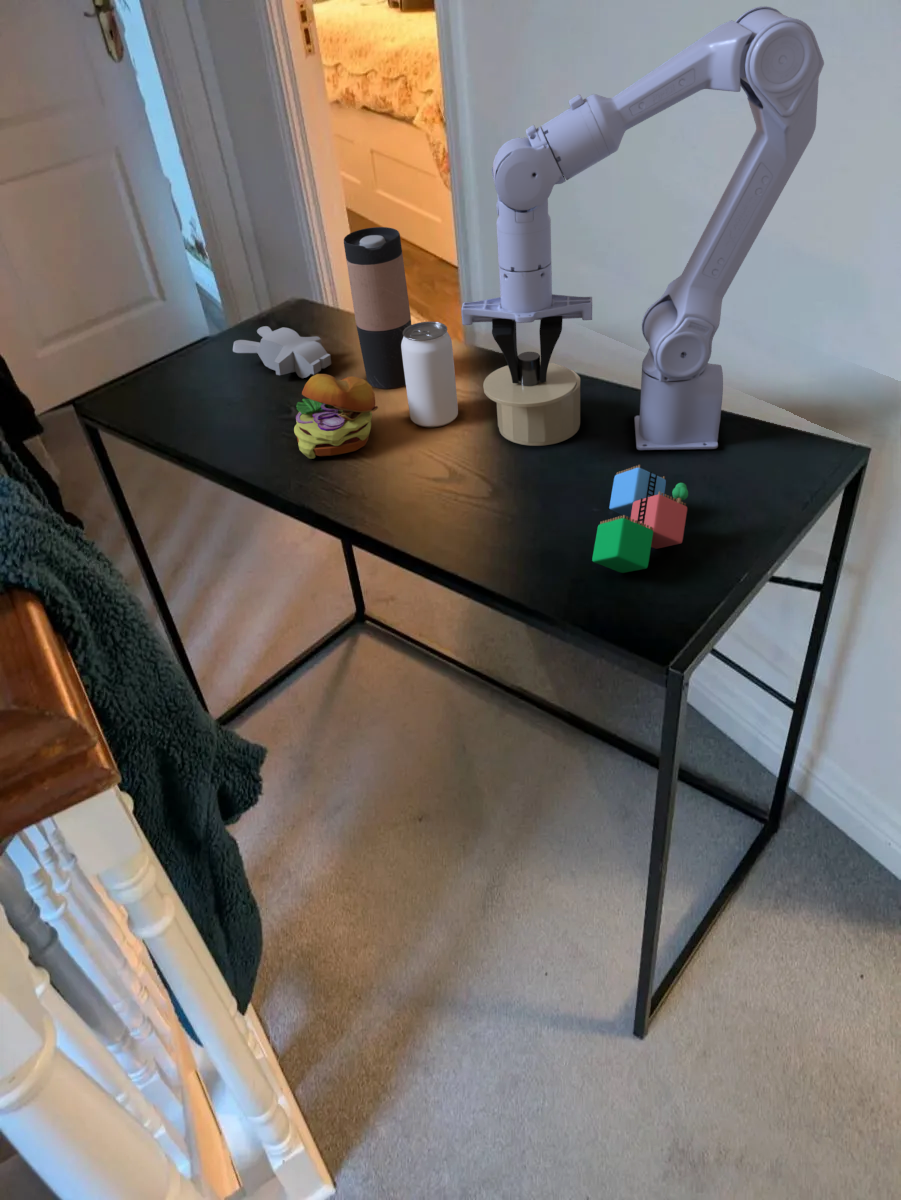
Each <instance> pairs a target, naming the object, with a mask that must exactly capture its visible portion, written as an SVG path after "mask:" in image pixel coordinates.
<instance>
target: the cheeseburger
mask: <svg viewBox="0 0 901 1200" xmlns="http://www.w3.org/2000/svg"><path fill="white" fill-rule="evenodd" d="M301 395H302V396H303V397H305V398H302V400H301V401H302V402H301V401H297V403H296V405H295V407H296V411H297V412H298V413H297V414H296V415H295V421H296V424H295V425H294V428H293V432H294V435H295V436H296V440H297V443H298V444H297V445H298V449H299V451H300V452H301V453H302V454H303V456H305V457H307V459H311V460H312V459H313V460H314V459H316V458H317V456H318V457H331V456H332V457H333V456H338V455H344V454H349V453H353V452H356V451H358V450H360V449H361V448H363V447H364V446H366V445H367V442H368V440H369V438H370V437H369V436H370V432H371V429H372V419H373V418H372V417H373V412H375V411H376V410H378V409H379V407H378V406H377V405H376V394H375V391H374V389H373V386H371V385H370V384H369V383H368V381H367V380H366V379H363V378H362V377H359V376H358V377H357V376H347V377H344V378H343V379H336V378H335V377H334V376H332V375H330V374H327V373H316V374H314V375H311V377H310V378H309V379H308V380H307V382H306V383H305V384H304V387H303V389H302V391H301Z"/></svg>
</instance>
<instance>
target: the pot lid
mask: <svg viewBox="0 0 901 1200" xmlns="http://www.w3.org/2000/svg"><path fill="white" fill-rule="evenodd" d="M540 363H541V354H540V353H538V352H536V351H524V352H522V353H519V354H518V376H519V382H518V383H512V377H511V373H510V370H509V367H508V365H505V366H502V367H500V368H497V369H495V370H494V371H492V372H490V373H489V374H488V375H487V376H486V377H485V378H484V381H483V384H482V385H483V386H482V387H483V393H484V394H485V395H486V397H487V398H488V399H490V400H491V401H493V402H494V403H496V404H497V403H500V404H503V405H507V406H513V407H537V406H544V405H548V404H552V403H555V402H558V401H560V400H562V399H564V398H566V397H568V396H569V395H570V394H571V393H572V392H573V391H574V390H575V388H576V385H577V379H576V376H575V374H574V373H573V372H572V371H571V370H572V369H571V370H569V369H570V368H568V367H566V366H564V365H562V364H558V363H555V362H549V365H548V369H547V376H546V382H541V383H540Z"/></svg>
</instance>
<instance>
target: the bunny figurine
mask: <svg viewBox="0 0 901 1200" xmlns="http://www.w3.org/2000/svg"><path fill="white" fill-rule="evenodd" d="M256 332H257V333H256V334H258V335H259V336H260V337H261V339H260V342H259V341H253V340H248V339H238V340H235V341H233V343H232V344H233V345H232V352H233V353H236V354H258V356H259V358H260V360H261V362H262V363H263V365H264V366H265V367H266V368H268V369H270V370H273V371H275V375H276V376H282V375H287V374H291V373H296V375H297V376H298V377H299V378H301V379H304V378H308V377H309V376H314V375H316V374H319V373H320V372H321V371H322V369H326V368H327V367H329V366H331V365H332V356H331V354H330V353H328V352H327V351H326V349H325V347H324V346H323V344H322V338H320V337H319V336H318V335H317V336H316V335H315V336H301V335H299V333H298V332H297V331H295V330H294V329H293V328H289V327H279V328H278V329H275V330H272V329H271V327H270V326H267V325H265V326H261V327H258V329H257V330H256Z"/></svg>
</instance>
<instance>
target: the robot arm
mask: <svg viewBox="0 0 901 1200" xmlns="http://www.w3.org/2000/svg"><path fill="white" fill-rule="evenodd" d="M820 49H821V48H820V47H819V44H818V41H817V37H816V35H815V33H814V31H813V29H812V28H811V26H809V25H808V23H806V22H805V21H803V20H801V19H799V18H795V17H789V16H787V15H785V14H783V13H782V12H781V11H779V10H778V9H776V8H774V7H771V6H767V5H766V6H765V5H764V6H762V5H761V6H756V7H753V8H751V9H748V10H747V11H745V12H743V13H742V14H741V15H739V17H738V18H737V19H735V20H733V19H731V20H729V21H726V22H724V23H721V24H719V25H718V26H716V27H715V28H713V29H712V30H710V31H709V32H707V33H706V34H705V35H703V36H702V37H700V38H699V39H696V40H695V41H694V42H692V43H691V44H690V45H688V46H687V47H685V48H683V49H682V50H681V51H679V52H678V53H676V54H675V55H673V56H671V57H670V58H669V59H667V60H666V61H664V62H663V63H662V64H660V65H658V66H656V67H655V68H654V69H652V70H651V71H649V72H648V73H646V74H645V75H644V76H642V77H640V78H639V79H637V80H636V81H635V82H633V83H632V84H630V85H629V86H627V87H626V88H624V89H623V90H621V91H620V92H618V93H617V94H615V95H613V96H612V97H606V96H602V95H599V94H596V93H591V94H590V95H588V96H587V97H585V98H583V96H582V95H581V94H577V95H576V96H574V97H572V98H571V99H569V100H568V104H569V108H568V109H566V110H564V111H562V112H561V113H559V114H558V115H556V116H555V117H553V118H551V119H549V120H548V121H546V122H545V123H543V124H542V125H540V126H539V127H537V128H536V125H535V124H532V125H530V126H529V127H527V128H526V129H525V134H526V136H527V137H525V136H523V137H520V136H519V137H514V138H512V139H509V140H507V141H506V142H504V143H503V144H502V145H501V146H500V147H499V148H498V150H497V153H496V154H495V156H494V159H493V163H492V167H491V169H490V171H491V176H492V179H493V183H494V188H495V191H496V194H497V201H496V204H495V205H496V208H495V209H496V214H497V216H498V217H497V219H496V222H495V223H496V237H497V238H496V240H497V258H498V259H497V260H498V261H497V262H498V275H499V277H498V278H499V294H500V296H498V297H492V298H487V299H482V300H474V301H464V302H462V305H461V321H462V322H461V323H462V326H471V325H473V323H491V324H492V325H491V335H492V337H493V339H494V341H495V343H496V344H497V346H498V347H499V349H500V351H501V352H502V354H503V357H504V359H505V361H506V364H507V366H508V367H509V370H510V373H511V377H512V383H518V382H519V376H518V355H519V354H518V344H517V343H518V342H517V323H518V324H525V323H526V324H527V323H534V322H535V321H540V323H539V349H540V351H539V352H540V362H541V363H540V383H541V382H546V376H547V369H548V365H549V363H550V360H551V358H552V354H553V352H554V349H555V347H556V345H557V343H558V340H559V339H560V336H561V334H562V331H563V320H569V319H582V321H592V320H593V296H576V295H575V296H574V295H563V294H553V277H552V276H553V275H552V273H553V271H552V270H553V269H552V268H553V267H552V229H551V228H552V226H551V225H552V222H551V220H552V219H551V216H550V214H549V198H550V196H551V193H552V192H553V188H554V186H555V185H561V184H564V183H565V182H566V181H569V180H571V179H572V178H574V177H575V176H577V175H579V174H580V173H582V172H584V171H586V170H587V169H589V168H590V167H592V166H594V165H596V164H597V163H599V162H601V161H602V160H604V159H606V158H607V157H609V156H611V155H612V154H615V153H616V152H617V151H618V150H619V148H620V146H621V142H622V140H623V138H624V135H625V133H626V131H628V130H629V129H631V128H634V127H635V126H637V125H639V124H641V123H643V122H645V121H646V120H648V119H650V118H652V117H654V116H656V115H657V114H659V113H661V112H663V111H664V110H666V109H668V108H670V107H672V106H674V105H676V104H678V103H680V102H682V101H683V100H685V99H688V98H689V97H691V96H693V95H694V94H696V93H698V92H701V91H703V90H711V91H712V90H713V91H721V92H722V91H723V92H734V93H739V92H741V89H742V90H743V92H744V93H745V95H746V97H747V102H748V105H749V108H750V111H751V114H752V117H753V122H754V124H755V131H754V133H753V135H752V137H751V139H750V141H749V143H748V145H747V147H746V148H745V151H744V152H743V155H742V157H741V158H740V161H739V162H738V164H737V166H736V168H735V170H734V172H733V174H732V176H731V177H730V179H729V182H728V183H727V185H726V188H725V189H724V191H723V194H722V195H721V197H720V199H719V201H718V203H717V205H716V207H715V209H714V211H713V213H712V214H711V217H710V218H709V221H708V222H707V224H706V226H705V228H704V230H703V232H702V234H701V236H700V237H699V240H698V242H697V244H696V245H695V248H694V249H693V251H692V253H691V255H690V257H689V259H688V261H687V263H686V265H685V267H684V269H683V270H682V273H681V274H680V275H679V276H678V277H676V278H675V279H673V280H672V281H671V282H669V283H668V284H667V286H666V289H665V291H664V292H663V293H662V295H661V296H660V298H658V299H657V300H656V301H654V303H652V304H651V305H650V306H649V307H648V308H647V310H646V311H645V313H644V314H643V317H642V320H641V333H642V335H643V338H644V339H645V341H646V343H647V344H648V347H649V348H648V349H647V352H646V354H645V356H644V358H643V359H642V361H641V362H642V363H641V381H640V399H639V415H635V416H634V431H635V432H634V434H635V448H636V450H638V451H669V450H671V451H675V450H676V451H678V450H717V449H718V447H719V443H718V441H719V432H720V424H721V416H722V415H721V414H722V407H723V406H722V405H723V394H724V373H723V367H722V365H721V364H719V363H718V364H717V363H709V361H710V359H711V356H712V352H713V351H712V349H713V341H714V337H715V335H716V333H717V331H718V329H719V327H720V322H721V314H722V307H723V299H724V297H725V295H726V293H727V292H728V289H730V286H731V284H732V283H733V280H734V279H735V277H736V275H737V273H738V272H739V270H740V268H741V266H742V265H743V263H744V261H745V259H746V258H747V255H748V253H749V252H750V251H751V248H752V246H753V245H754V243H755V241H756V239H757V238H758V236H759V234H760V232H761V230H762V228H763V227H764V225H765V223H766V221H767V220H768V217H769V216H770V214H771V212H772V211H773V210H774V209H773V208H774V207H775V205H776V204H777V201H778V200H779V198H780V196H781V195H782V193H783V191H784V189H785V187H786V185H787V183H788V182H789V180H790V178H791V176H792V174H793V173H794V170H795V169H796V167H797V165H798V164H799V162H800V161H801V159H802V156H803V154H804V153H805V151H806V149H807V147H808V146H809V144H810V142H811V140H812V138H813V136H814V134H815V132H816V131H815V130H816V127H817V117H818V116H817V115H818V96H819V82H820V81H819V80H820V75H821V73H822V70H823V68H824V65H825V60H824V58H823V55H822V52H821V50H820Z"/></svg>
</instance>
